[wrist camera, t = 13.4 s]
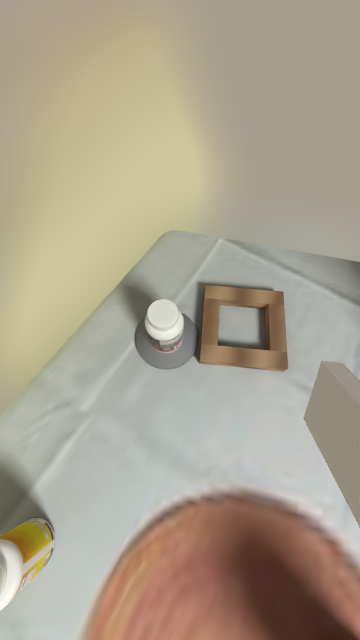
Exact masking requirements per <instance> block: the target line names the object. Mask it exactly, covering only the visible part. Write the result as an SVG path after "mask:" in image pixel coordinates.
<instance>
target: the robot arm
mask: <svg viewBox="0 0 360 640" xmlns="http://www.w3.org/2000/svg"><path fill="white" fill-rule="evenodd" d="M304 420H305V422H306V424H307V426H308V428H309V430H310V432H311V434H312V436H313V438H314V440H315V441H316V443H317V445H318V447H319V449H320V451H321V453H322V455H323V457H324V459H325V461H326V463H327V465H328V467H329V469H330V471H331V472H332V474H333V476H334V478H335V480H336V482H337V484H338V486H339V488H340V490H341V492H342V494H343V496H344V498H345V500H346V502H347V503H348V505H349V507H350V509H351V511H352V513H353V515H354V517H355V519H356V521H357V523H358V525H359V527H360V381H359V379H358V378H357V377H356V376H355V375H354V374H353V373H352V372H351V371H350V370H349V369H348V368H347V367H346V366H345V365H344V364H343V363H337V362H326V361H322V362H321V365H320V368H319V371H318V375H317V378H316V381H315V384H314V387H313V390H312V394H311V397H310V400H309V403H308V406H307V409H306V412H305V416H304Z"/></svg>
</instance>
